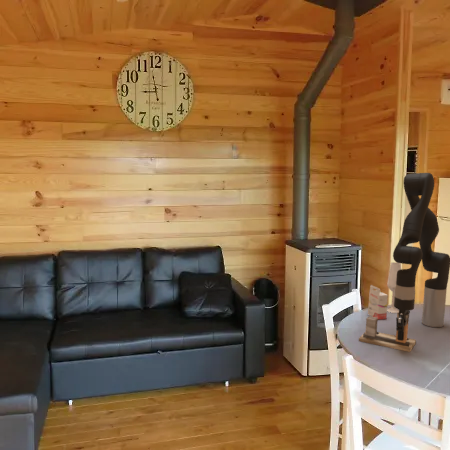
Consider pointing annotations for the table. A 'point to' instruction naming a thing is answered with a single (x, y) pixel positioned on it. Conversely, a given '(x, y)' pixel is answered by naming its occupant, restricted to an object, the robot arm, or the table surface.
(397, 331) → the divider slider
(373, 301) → the ink cartridge box
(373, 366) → the table surface
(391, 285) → the champagne flute
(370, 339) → the pitch plate
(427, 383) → the table surface
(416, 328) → the table surface
